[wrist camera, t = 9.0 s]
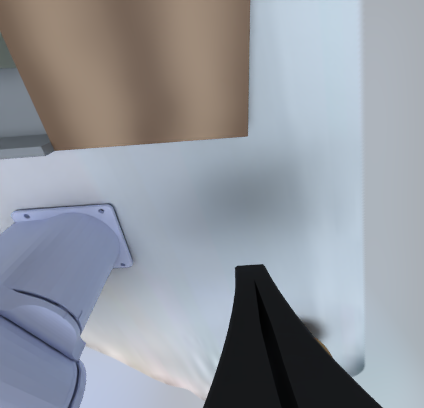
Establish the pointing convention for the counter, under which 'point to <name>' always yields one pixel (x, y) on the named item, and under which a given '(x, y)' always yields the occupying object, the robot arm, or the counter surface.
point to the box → (19, 120)
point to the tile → (5, 55)
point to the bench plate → (132, 68)
